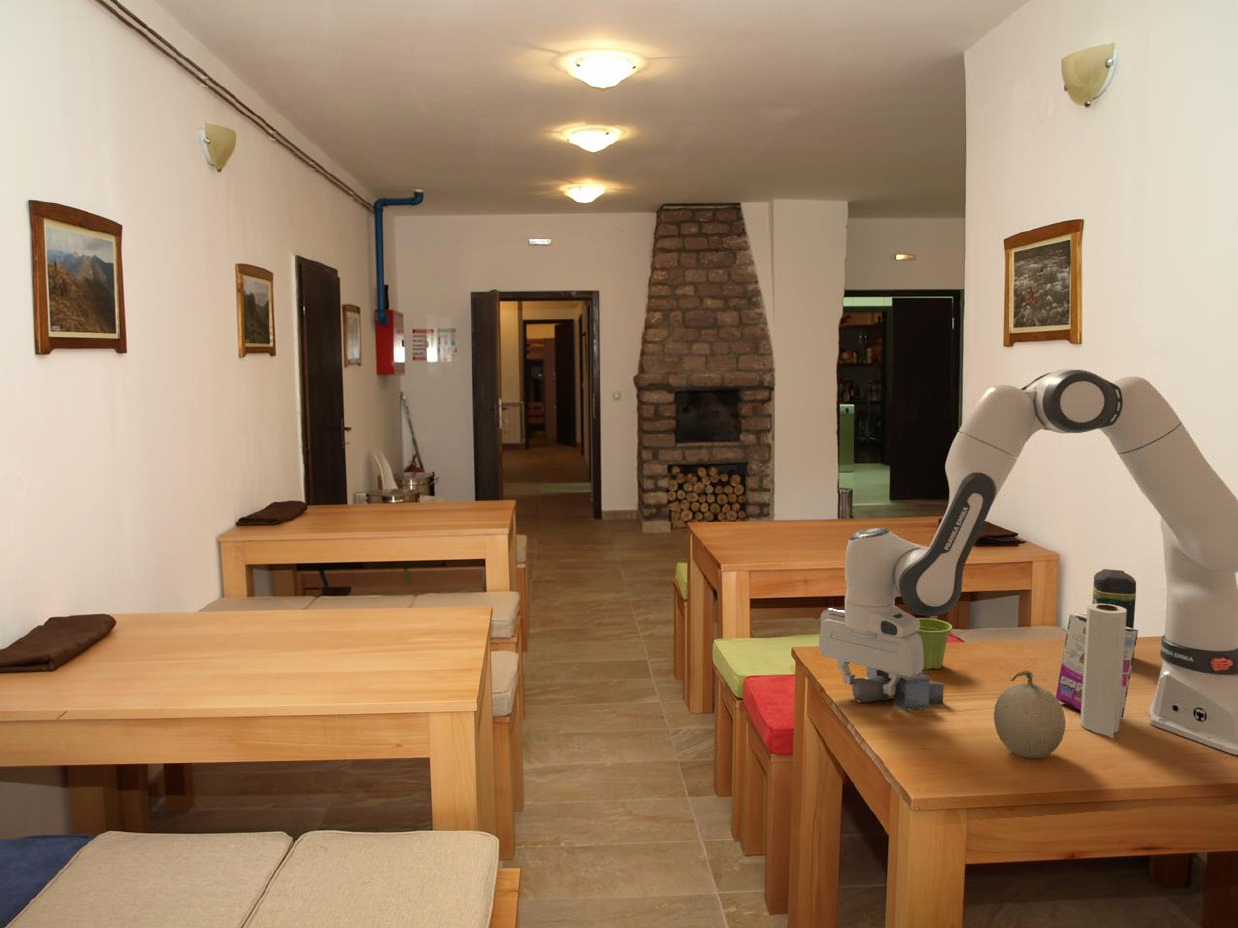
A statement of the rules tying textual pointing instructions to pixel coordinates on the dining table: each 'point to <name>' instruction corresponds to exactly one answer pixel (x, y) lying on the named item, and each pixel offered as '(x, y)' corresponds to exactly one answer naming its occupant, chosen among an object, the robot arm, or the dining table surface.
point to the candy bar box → (1074, 663)
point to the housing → (913, 690)
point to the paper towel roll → (1103, 668)
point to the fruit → (1029, 719)
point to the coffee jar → (1116, 591)
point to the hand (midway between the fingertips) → (868, 688)
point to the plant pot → (933, 641)
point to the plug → (870, 689)
